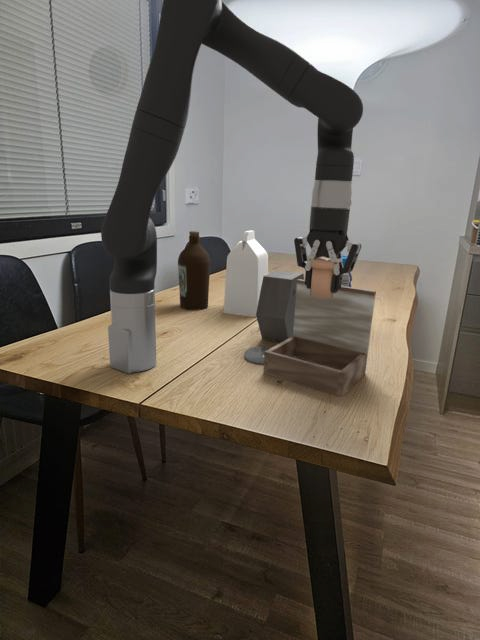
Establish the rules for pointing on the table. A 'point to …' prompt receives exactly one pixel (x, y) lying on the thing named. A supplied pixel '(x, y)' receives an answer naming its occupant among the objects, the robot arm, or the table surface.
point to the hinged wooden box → (325, 340)
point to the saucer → (255, 354)
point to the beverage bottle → (346, 275)
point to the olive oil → (194, 275)
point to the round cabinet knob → (321, 277)
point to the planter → (277, 305)
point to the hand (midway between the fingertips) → (322, 289)
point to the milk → (245, 276)
